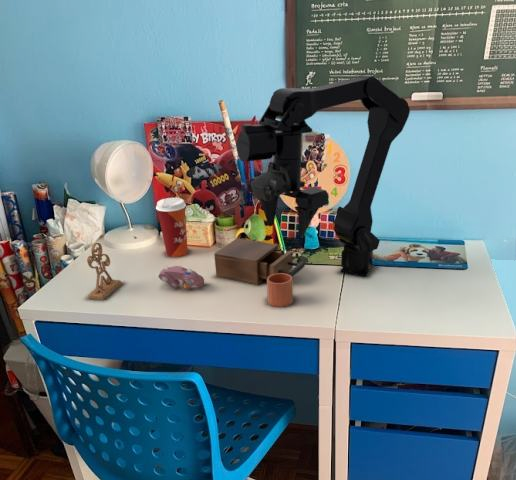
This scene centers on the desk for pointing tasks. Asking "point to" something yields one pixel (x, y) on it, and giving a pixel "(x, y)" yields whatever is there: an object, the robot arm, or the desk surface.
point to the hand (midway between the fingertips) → (285, 230)
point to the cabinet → (242, 260)
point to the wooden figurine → (108, 284)
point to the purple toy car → (181, 277)
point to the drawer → (278, 264)
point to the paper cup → (173, 225)
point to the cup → (280, 289)
